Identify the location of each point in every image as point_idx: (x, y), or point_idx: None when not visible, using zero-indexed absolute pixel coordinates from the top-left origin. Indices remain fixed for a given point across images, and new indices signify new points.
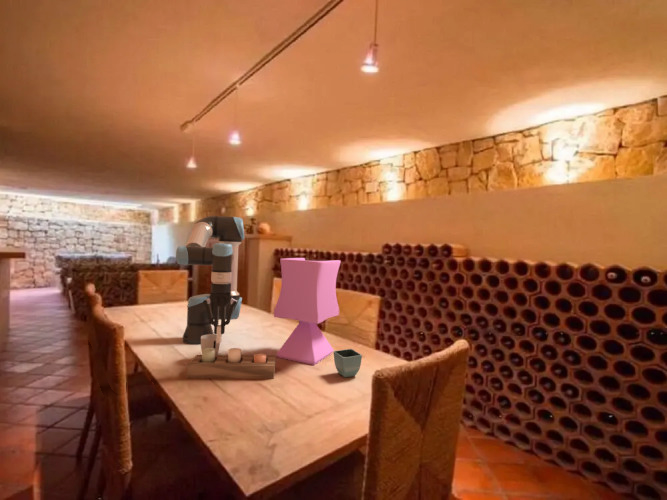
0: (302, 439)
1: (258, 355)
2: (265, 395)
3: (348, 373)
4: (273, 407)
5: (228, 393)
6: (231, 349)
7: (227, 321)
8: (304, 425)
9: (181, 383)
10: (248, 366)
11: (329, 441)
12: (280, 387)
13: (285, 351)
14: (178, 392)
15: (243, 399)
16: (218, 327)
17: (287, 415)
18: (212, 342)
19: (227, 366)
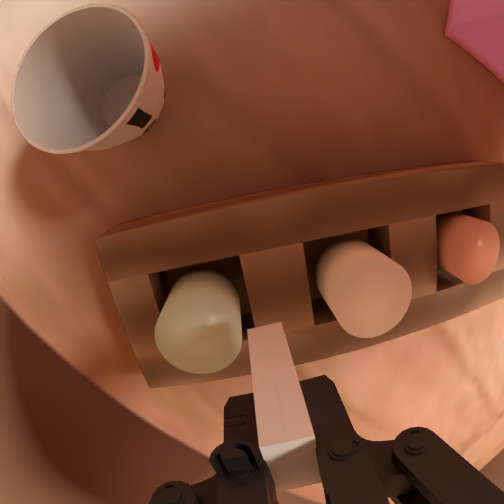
0: (473, 460)
1: (473, 253)
2: (449, 386)
3: None
4: (457, 420)
5: (357, 412)
6: (353, 297)
7: (414, 501)
8: (486, 437)
9: (171, 390)
10: (425, 324)
11: (498, 447)
12: (486, 332)
13: (495, 46)
14: (206, 437)
15: (400, 421)
16: (293, 479)
17: (473, 429)
18: (121, 131)
19: (337, 352)
